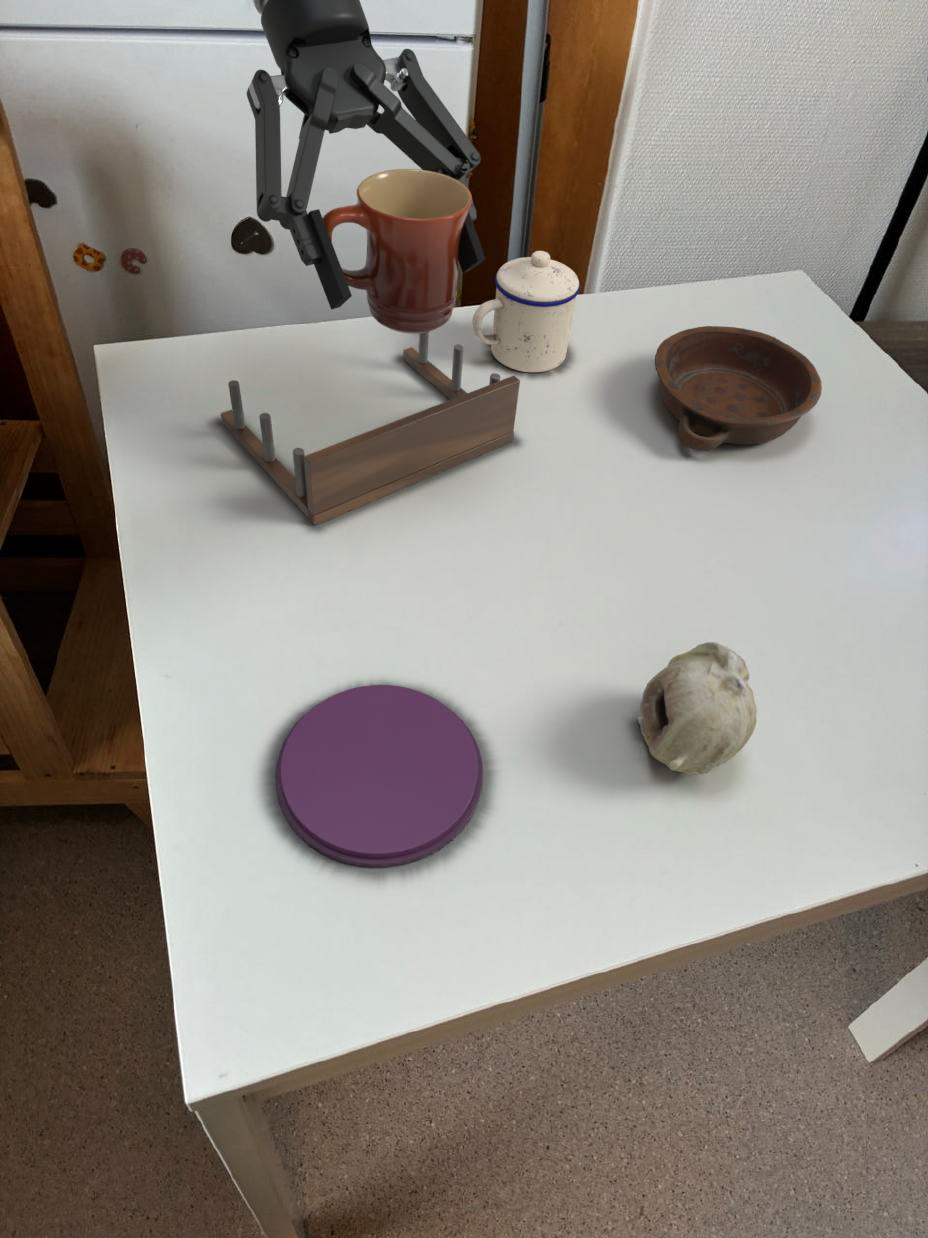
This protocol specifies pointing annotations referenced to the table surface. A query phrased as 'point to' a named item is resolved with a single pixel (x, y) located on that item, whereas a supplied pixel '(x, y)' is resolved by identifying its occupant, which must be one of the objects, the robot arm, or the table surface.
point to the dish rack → (388, 442)
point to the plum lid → (379, 776)
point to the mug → (408, 246)
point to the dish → (734, 385)
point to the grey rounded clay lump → (698, 709)
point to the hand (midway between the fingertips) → (410, 283)
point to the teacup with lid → (530, 313)
